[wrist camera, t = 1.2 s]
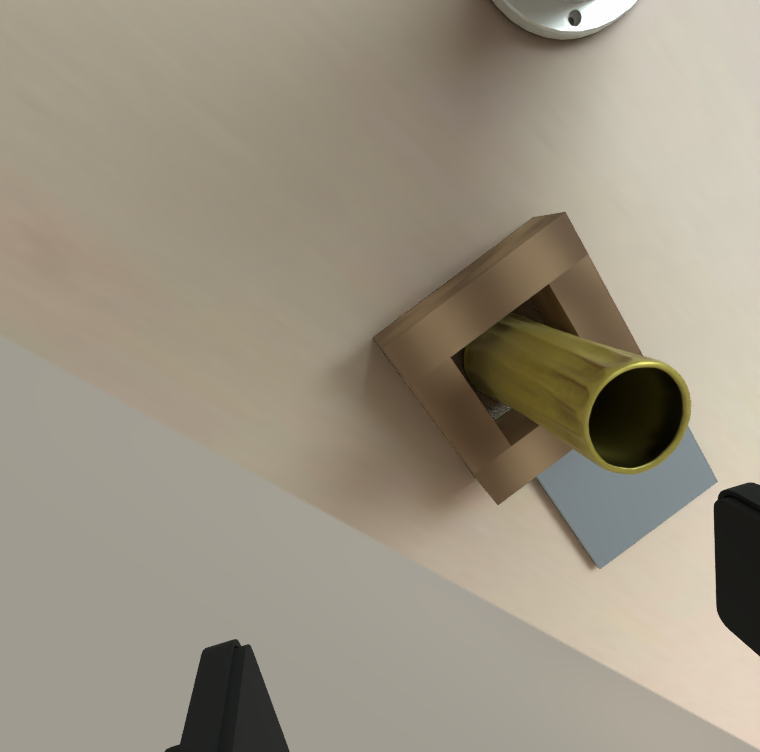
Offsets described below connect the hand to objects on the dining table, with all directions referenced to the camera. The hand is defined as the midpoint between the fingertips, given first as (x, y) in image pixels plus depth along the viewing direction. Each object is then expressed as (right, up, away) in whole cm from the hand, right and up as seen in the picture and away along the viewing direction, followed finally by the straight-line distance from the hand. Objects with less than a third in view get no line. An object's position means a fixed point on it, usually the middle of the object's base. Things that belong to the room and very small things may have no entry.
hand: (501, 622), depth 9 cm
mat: (+17, -3, +29) cm, 34 cm away
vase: (+6, +6, +26) cm, 27 cm away
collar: (+6, +6, +25) cm, 27 cm away
